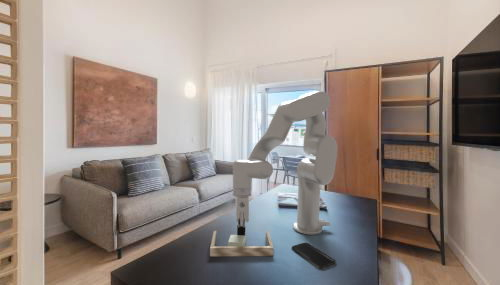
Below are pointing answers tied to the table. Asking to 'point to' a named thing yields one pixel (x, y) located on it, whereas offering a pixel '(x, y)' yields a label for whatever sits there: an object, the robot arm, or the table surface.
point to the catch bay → (241, 249)
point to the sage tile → (237, 240)
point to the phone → (313, 255)
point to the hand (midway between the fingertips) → (241, 235)
